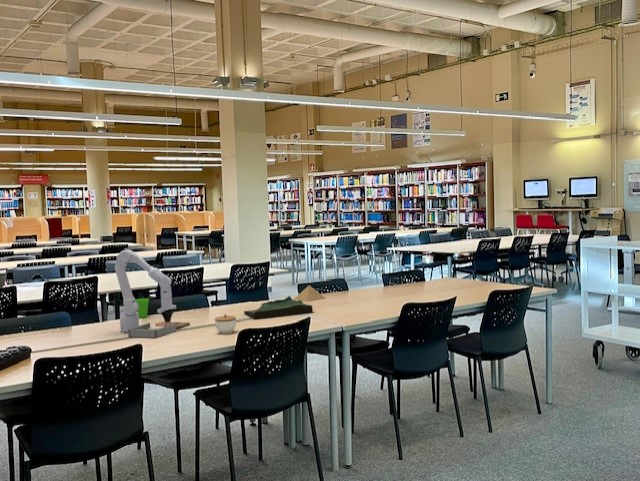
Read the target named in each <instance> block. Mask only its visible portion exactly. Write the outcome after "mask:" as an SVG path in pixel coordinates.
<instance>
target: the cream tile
mask: <svg viewBox="0 0 640 481" xmlns="http://www.w3.org/2000/svg"><path fill="white" fill-rule="evenodd" d="M163 327H165V326H150V328H148V330H157V329H160V328H163Z"/></svg>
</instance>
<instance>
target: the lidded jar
mask: <svg viewBox="0 0 640 481" xmlns="http://www.w3.org/2000/svg"><path fill="white" fill-rule="evenodd" d="M214 321H215V322H214V323H215V328H216V329H217V332H219V333H220V334H222V335H226V334H227V335H228V334H231V333H233V331H234V330H235V329H236V324H237V323H236V321H237V317H236V316H234V315H227V314H226V313H225V314H224V315H223V316H222V315H221V316H216V317H215V318H214Z"/></svg>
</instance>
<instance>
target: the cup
mask: <svg viewBox="0 0 640 481" xmlns="http://www.w3.org/2000/svg"><path fill="white" fill-rule="evenodd" d="M135 301H136V302H137V303H138V305H139V308H138V310H137V312H138V315H139V319H147V317H148V311H149V310H148V309H149V301H150V298H138V299H136V298H135Z"/></svg>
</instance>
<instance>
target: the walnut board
mask: <svg viewBox="0 0 640 481" xmlns="http://www.w3.org/2000/svg"><path fill="white" fill-rule="evenodd" d="M170 322H171V324H175V329H176V331H177V330H180V329H183V328H186V327H188V326H190V325H191V324H190V322H185V321H184V322H183V321H182V322H180V321H170Z"/></svg>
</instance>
